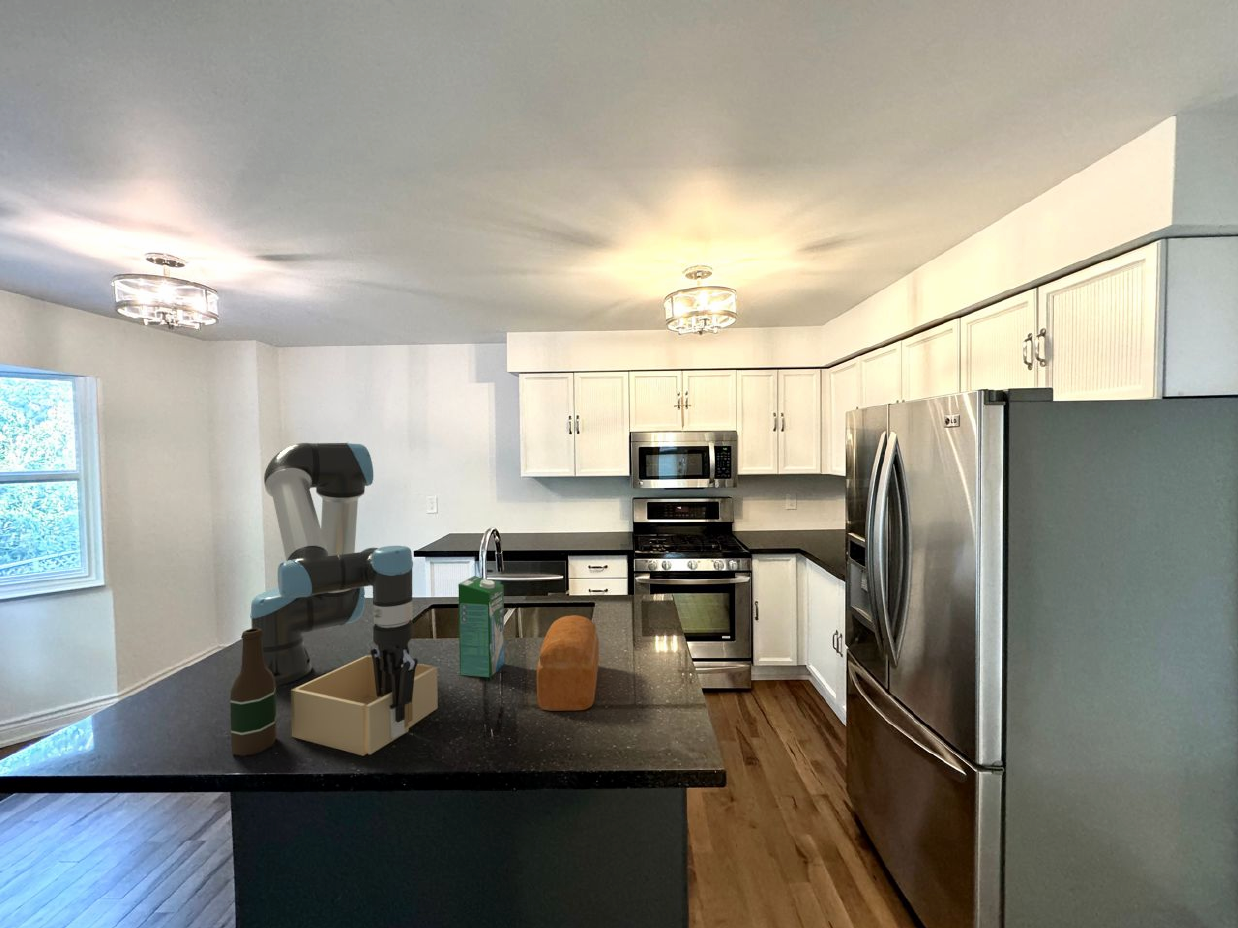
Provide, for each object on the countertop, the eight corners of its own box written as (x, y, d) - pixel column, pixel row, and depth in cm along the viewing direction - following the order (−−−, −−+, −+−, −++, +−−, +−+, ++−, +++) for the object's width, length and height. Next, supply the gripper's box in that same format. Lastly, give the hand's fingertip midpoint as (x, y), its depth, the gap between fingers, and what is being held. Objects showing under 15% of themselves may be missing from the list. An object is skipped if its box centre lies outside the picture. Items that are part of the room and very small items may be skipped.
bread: (599, 664, 143) (599, 609, 143) (594, 712, 117) (593, 644, 116) (551, 665, 143) (550, 609, 143) (534, 712, 117) (533, 644, 116)
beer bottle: (247, 736, 107) (244, 624, 107) (285, 734, 108) (283, 623, 108) (221, 758, 100) (218, 637, 99) (263, 756, 100) (260, 636, 100)
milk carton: (490, 677, 135) (489, 584, 134) (459, 675, 137) (458, 583, 136) (504, 663, 144) (503, 576, 143) (475, 661, 146) (474, 575, 145)
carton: (291, 736, 107) (290, 690, 107) (368, 694, 126) (367, 654, 126) (363, 755, 100) (362, 705, 100) (433, 707, 119) (432, 665, 119)
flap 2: (404, 727, 110) (403, 683, 109) (434, 707, 118) (433, 666, 118) (408, 728, 109) (407, 684, 109) (438, 708, 118) (437, 667, 118)
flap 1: (366, 753, 100) (365, 705, 100) (405, 729, 109) (404, 685, 109) (371, 754, 100) (370, 706, 100) (409, 731, 108) (408, 686, 108)
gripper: (356, 620, 106) (357, 731, 106) (397, 634, 98) (398, 753, 99) (389, 610, 112) (390, 715, 113) (430, 623, 104) (431, 735, 105)
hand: (394, 733), depth 106 cm, fingers open, 1 cm apart
